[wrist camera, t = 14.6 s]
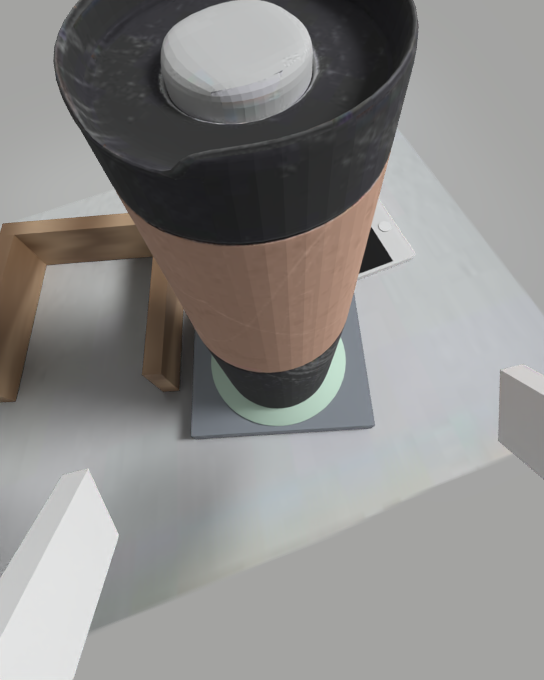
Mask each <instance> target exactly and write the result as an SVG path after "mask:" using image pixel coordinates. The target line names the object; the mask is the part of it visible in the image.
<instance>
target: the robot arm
mask: <svg viewBox="0 0 544 680" xmlns="http://www.w3.org/2000/svg"><path fill="white" fill-rule="evenodd" d="M498 441H499V442H500V443H501V444H502V445H504V446H505V447H506V448H507V449H508V450H510V451H511V452H512V453H513V454H514V455H515V456H517V457H518V458H519V459H520V460H521V461H523V462H524V463H525V464H526V465H527V466H529V467H530V468H531V469H532V470H533V471H534V472H536V473H537V474H538V475H539V476H540V477H541V478H543V479H544V375H543V374H541V373H539V372H537V371H535V370H533V369H531V368H529V367H527V366H525V365H523V364H522V365H518V366H513V367H509V368H505V369H501V370H500V394H499V430H498ZM118 537H119V534H118V532H117V530H116V528H115V525H114V523H113V521H112V519H111V517H110V515H109V512H108V510H107V508H106V506H105V504H104V502H103V499H102V497H101V495H100V493H99V491H98V489H97V487H96V484H95V482H94V480H93V478H92V476H91V474H90V471H89V469H84V470H80V471H76V472H71V473H67V474H63V475H62V477H61V478H60V480H59V482H58V483H57V485H56V487H55V488H54V490H53V491H52V493H51V495H50V496H49V498H48V500H47V501H46V503H45V505H44V506H43V508H42V510H41V511H40V513H39V515H38V516H37V518H36V520H35V521H34V523H33V525H32V526H31V528H30V530H29V531H28V533H27V535H26V536H25V538H24V540H23V541H22V543H21V545H20V546H19V548H18V550H17V551H16V553H15V555H14V556H13V558H12V560H11V561H10V563H9V564H8V566H7V568H6V569H5V571H4V573H3V574H2V576H1V578H0V680H73V678H74V675H75V672H76V669H77V666H78V663H79V660H80V656H81V653H82V650H83V647H84V644H85V641H86V638H87V635H88V631H89V628H90V625H91V622H92V619H93V616H94V613H95V609H96V606H97V603H98V600H99V597H100V594H101V591H102V588H103V584H104V581H105V578H106V575H107V572H108V569H109V566H110V562H111V559H112V556H113V553H114V550H115V547H116V544H117V540H118Z"/></svg>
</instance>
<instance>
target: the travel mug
mask: <svg viewBox="0 0 544 680" xmlns="http://www.w3.org/2000/svg"><path fill="white" fill-rule="evenodd" d="M417 39H418V20H417V12H416V7H415V4H414V1H413V0H79V1H78V2H77V4H76V5H75V6H74V7H73V8H72V10H71V11H70V13H69V14H68V16H67V17H66V19H65V20H64V22H63V25H62V27H61V29H60V31H59V33H58V36H57V40H56V44H55V47H54V68H55V75H56V81H57V83H58V86H59V90H60V93H61V95H62V98H63V100H64V102H65V104H66V106H67V108H68V110H69V112H70V114H71V116H72V117H73V119H74V121H75V123H76V124H77V125H78V127H79V128H80V130H81V132H82V133H83V135H84V137H85V138H86V140H87V142H88V144H89V145H90V147H91V149H92V151H93V152H94V154H95V156H96V158H97V159H98V161H99V163H100V164H101V166H102V168H103V170H104V171H105V173H106V175H107V177H108V178H109V180H110V182H111V184H112V185H113V187H114V188H115V190H116V192H117V194H118V196H119V197H120V199H121V201H122V203H123V204H124V206H125V208H126V210H127V211H128V213H129V215H130V217H131V218H132V220H133V222H134V224H135V225H136V227H137V229H138V231H139V232H140V234H141V236H142V237H143V239H144V241H145V243H146V244H147V246H148V248H149V250H150V251H151V253H152V255H153V257H154V258H155V260H156V262H157V264H158V265H159V267H160V269H161V271H162V272H163V274H164V276H165V278H166V279H167V281H168V283H169V284H170V286H171V288H172V290H173V291H174V293H175V295H176V297H177V298H178V300H179V302H180V304H181V305H182V307H183V309H184V311H185V312H186V314H187V316H188V318H189V319H190V321H191V323H192V325H193V326H194V328H195V330H196V331H197V333H198V335H199V336H200V338H201V340H202V341H203V343H204V344H205V346H206V347H207V349H208V350H209V351H210V353H211V354H212V356H213V357H214V359H215V360H216V361H217V363H218V364H219V366H220V367H221V369H222V370H223V371H224V373H225V374H226V376H227V377H228V378H229V380H230V381H231V383H232V384H233V385H234V387H235V388H236V389H237V390H238V391H239V393H240V394H242V395H243V396H244V397H245V398H246V399H248V400H249V401H251V402H253V403H255V404H257V405H260V406H263V407H267V408H277V409H278V408H287V407H292V406H295V405H298V404H300V403H302V402H304V401H305V400H307V399H308V398H310V397H311V396H312V395H313V394H314V393H315V392H316V391H317V390H318V389H319V388H320V386H321V385H322V383H323V381H324V380H325V377H326V375H327V373H328V370H329V368H330V365H331V362H332V359H333V357H334V354H335V351H336V348H337V345H338V343H339V340H340V337H341V334H342V332H343V329H344V326H345V323H346V320H347V316H348V313H349V309H350V305H351V301H352V298H353V294H354V290H355V286H356V282H357V278H358V275H359V271H360V267H361V263H362V259H363V255H364V252H365V248H366V244H367V240H368V236H369V232H370V229H371V225H372V221H373V217H374V213H375V209H376V206H377V202H378V198H379V194H380V190H381V186H382V183H383V179H384V175H385V171H386V167H387V163H388V160H389V156H390V152H391V148H392V144H393V140H394V137H395V133H396V129H397V125H398V121H399V118H400V114H401V110H402V105H403V102H404V98H405V95H406V90H407V87H408V83H409V79H410V75H411V72H412V68H413V64H414V59H415V54H416V48H417Z"/></svg>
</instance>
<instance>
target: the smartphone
mask: <svg viewBox="0 0 544 680" xmlns="http://www.w3.org/2000/svg"><path fill="white" fill-rule="evenodd" d="M414 256H415V251H414V250H413V248H412V247H411V245H410V244H409V242H408V241H407V239H406V238H405V236H404V235H403V233H402V232H401V231H400V229H399V228H398V226H397V225H396V223H395V222H394V220H393V219H392V217H391V216H390V214H389V213H388V211H387V210H386V208H385V207H384V205H383V204H382V203H381V201H380V200H379V198H378V202H377V206H376V209H375V213H374V217H373V221H372V225H371V229H370V232H369V236H368V240H367V244H366V248H365V252H364V255H363V259H362V263H361V267H360V271H359V275H358V278H357V280H360V279H362V278H365V277H368V276H370V275H373V274H376V273H378V272H381V271H384V270H386V269H389V268H392V267H394V266H397V265H400V264H402V263H405V262H407V261H410V260H412V259H413V258H414Z"/></svg>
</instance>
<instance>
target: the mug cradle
mask: <svg viewBox="0 0 544 680" xmlns="http://www.w3.org/2000/svg"><path fill="white" fill-rule="evenodd" d="M141 257H153V255H152V253H151V251H150V250H149V248H148V246H147V244H146V243H145V241H144V239H143V237H142V236H141V234H140V232H139V231H138V229H137V227H136V225H135V224H134V222H133V220H132V218H131V217H130V215H129V213H124V214H112V215H100V216H88V217H76V218H64V219H51V220H39V221H27V222H15V223H3V224H2V228H1V231H0V402H15V401H16V398H17V394H18V389H19V385H20V380H21V376H22V372H23V367H24V363H25V358H26V354H27V349H28V345H29V341H30V336H31V332H32V327H33V323H34V318H35V314H36V310H37V305H38V301H39V296H40V292H41V287H42V283H43V279H44V274H45V270H46V265H52V264H65V263H77V262H90V261H103V260H115V259H128V258H141ZM182 328H183V307H182V305H181V304H180V302H179V300H178V298H177V297H176V295H175V293H174V291H173V290H172V288H171V286H170V284H169V283H168V281H167V279H166V278H165V276H164V274H163V272H162V271H161V269H160V267H159V265H158V264H157V262H156V260H155V258H154V257H153V261H152V272H151V283H150V294H149V304H148V315H147V326H146V337H145V348H144V359H143V369H142V375H143V376H144V377H145V378H146V379H148V380H149V381H150V382H151V383H153V384H154V385H155V386H156V387H158V388H159V389H160V390H161V391H163V392H167V391H179V388H180V368H181V348H182Z"/></svg>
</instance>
